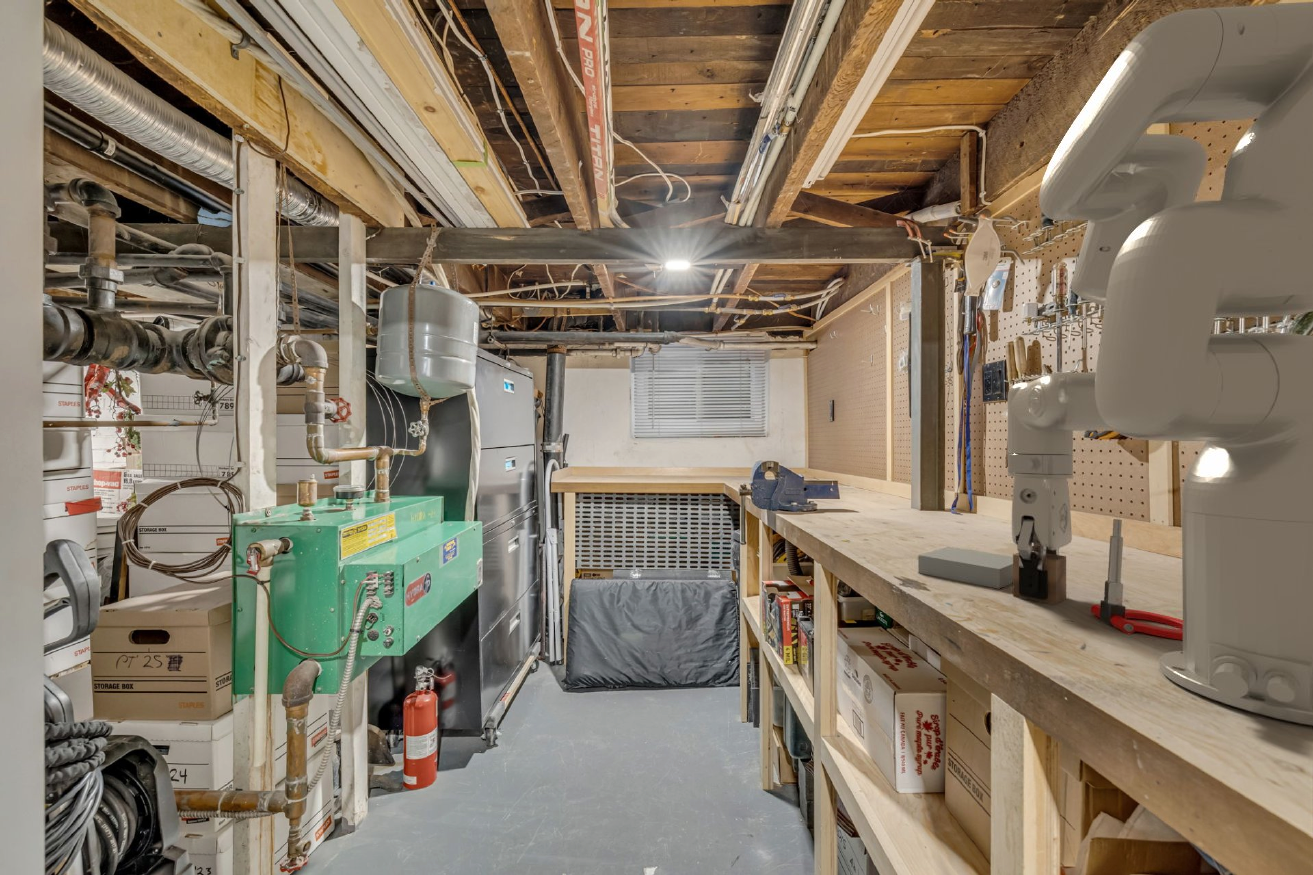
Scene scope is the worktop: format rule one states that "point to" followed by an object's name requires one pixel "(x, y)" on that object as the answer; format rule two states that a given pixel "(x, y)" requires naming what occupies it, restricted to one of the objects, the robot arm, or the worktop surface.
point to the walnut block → (1055, 578)
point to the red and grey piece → (1112, 602)
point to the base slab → (968, 566)
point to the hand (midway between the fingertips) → (1039, 592)
